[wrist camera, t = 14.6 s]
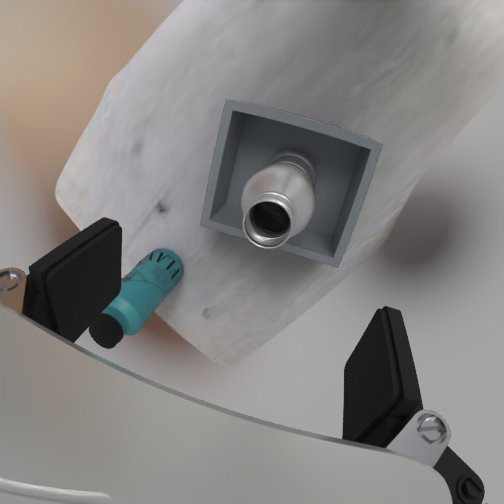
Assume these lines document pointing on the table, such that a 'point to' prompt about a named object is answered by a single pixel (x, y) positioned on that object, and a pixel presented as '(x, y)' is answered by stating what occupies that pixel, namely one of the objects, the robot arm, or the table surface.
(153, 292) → the beverage bottle
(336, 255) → the bin
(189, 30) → the table surface
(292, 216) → the silver aluminium bottle
